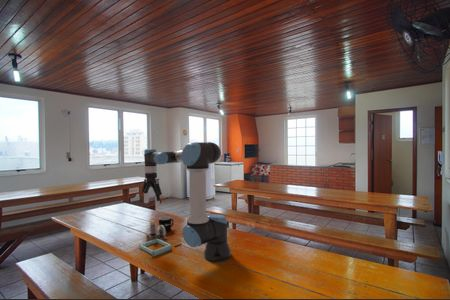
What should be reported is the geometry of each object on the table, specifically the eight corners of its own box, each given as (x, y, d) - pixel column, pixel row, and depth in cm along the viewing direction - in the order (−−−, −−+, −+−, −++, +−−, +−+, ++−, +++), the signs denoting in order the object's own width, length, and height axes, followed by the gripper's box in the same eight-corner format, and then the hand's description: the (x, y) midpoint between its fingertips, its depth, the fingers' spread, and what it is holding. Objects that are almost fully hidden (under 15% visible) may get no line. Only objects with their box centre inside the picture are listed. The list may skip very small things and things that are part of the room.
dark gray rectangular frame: (181, 244, 160) (181, 243, 160) (176, 247, 156) (176, 246, 156) (166, 240, 168) (166, 239, 168) (160, 242, 164) (160, 242, 164)
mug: (164, 234, 178) (163, 220, 178) (156, 232, 184) (156, 218, 184) (177, 230, 187) (177, 216, 187) (169, 227, 193) (169, 214, 193)
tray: (171, 249, 153) (171, 244, 153) (153, 256, 144) (153, 251, 144) (157, 243, 163) (157, 238, 163) (139, 249, 154) (139, 244, 154)
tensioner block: (166, 238, 170) (166, 225, 170) (151, 244, 161) (150, 230, 161) (160, 236, 176) (159, 223, 175) (144, 241, 167) (144, 228, 167)
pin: (156, 239, 167) (155, 221, 167) (152, 240, 165) (151, 222, 165) (154, 238, 169) (153, 220, 169) (150, 239, 167) (149, 221, 167)
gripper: (166, 172, 160) (167, 206, 161) (146, 170, 177) (147, 200, 178) (156, 174, 155) (157, 208, 155) (136, 171, 171) (137, 202, 172)
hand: (151, 204), depth 166 cm, fingers open, 13 cm apart
